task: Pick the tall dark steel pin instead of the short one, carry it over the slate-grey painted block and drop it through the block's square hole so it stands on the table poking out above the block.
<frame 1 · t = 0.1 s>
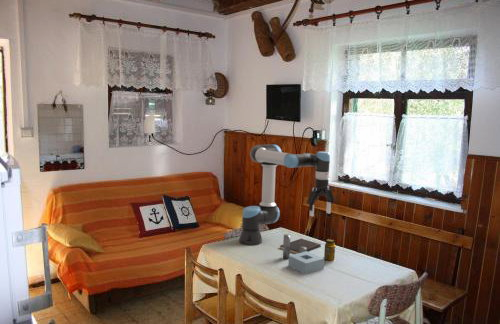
hand: (320, 214, 239), 28 cm above the table, fingers open, 13 cm apart
hardcover book: (300, 248, 265), on the table
hole block: (305, 267, 231), on the table
short pin: (302, 257, 247), on the table
condiment: (327, 260, 244), on the table
long pin: (286, 258, 245), on the table
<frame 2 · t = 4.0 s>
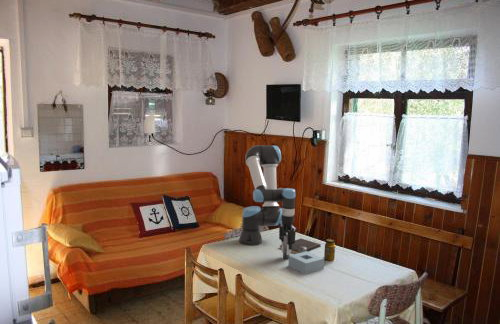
hand: (286, 253, 244), 3 cm above the table, fingers closed on long pin, 4 cm apart
long pin: (286, 258, 245), on the table, touching gripper
everything else where it was.
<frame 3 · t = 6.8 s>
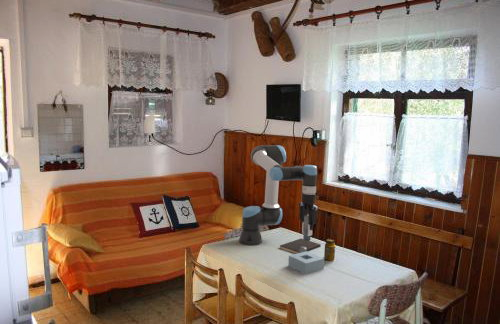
hand: (307, 234, 229), 19 cm above the table, fingers closed on long pin, 4 cm apart
long pin: (306, 239, 229), point 16 cm above the table, touching gripper
everything else where it was.
when the fingers open (8 cm above the table, at t = 9.6 s): long pin drops 5 cm, on the table.
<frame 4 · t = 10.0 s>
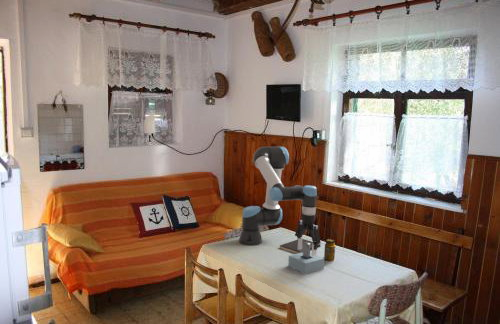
hand: (306, 252, 230), 9 cm above the table, fingers open, 10 cm apart
long pin: (305, 267, 231), on the table
everything else where it was.
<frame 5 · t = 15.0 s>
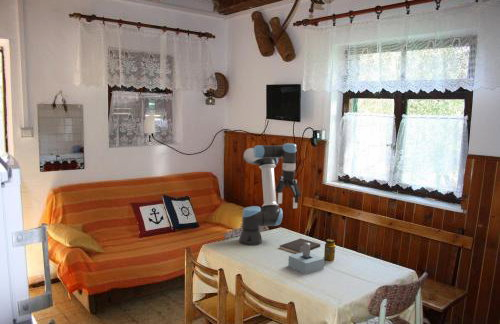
hand: (287, 205, 242), 32 cm above the table, fingers open, 13 cm apart
nothing on the table moved.
at the end: long pin 0.2 cm off-centre on the hole block, point 0.0 cm above the hole block's base; long pin tilted 1°; short pin moved 0.0 cm from its start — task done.
